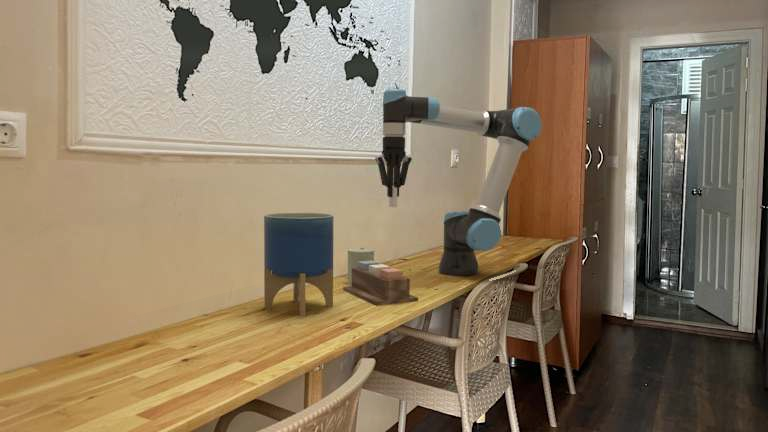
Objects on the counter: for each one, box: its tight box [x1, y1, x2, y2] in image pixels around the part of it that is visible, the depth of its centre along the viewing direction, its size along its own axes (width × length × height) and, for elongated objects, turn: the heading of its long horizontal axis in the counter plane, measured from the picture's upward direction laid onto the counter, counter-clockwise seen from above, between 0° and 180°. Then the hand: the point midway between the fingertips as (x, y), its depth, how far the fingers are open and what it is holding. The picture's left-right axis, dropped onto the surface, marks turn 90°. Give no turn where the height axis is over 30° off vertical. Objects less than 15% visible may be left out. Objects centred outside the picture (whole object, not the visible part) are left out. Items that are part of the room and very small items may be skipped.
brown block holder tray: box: [342, 267, 419, 306], centre depth 191 cm, size 14×24×7 cm, turn 27°
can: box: [346, 247, 375, 286], centre depth 210 cm, size 9×9×12 cm
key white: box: [369, 263, 391, 275], centre depth 191 cm, size 5×5×6 cm
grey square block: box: [358, 260, 380, 271], centre depth 198 cm, size 5×5×6 cm
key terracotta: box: [380, 267, 404, 280], centre depth 184 cm, size 5×5×6 cm
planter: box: [263, 211, 334, 317], centre depth 173 cm, size 19×19×26 cm
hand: (393, 206), depth 207 cm, fingers closed
